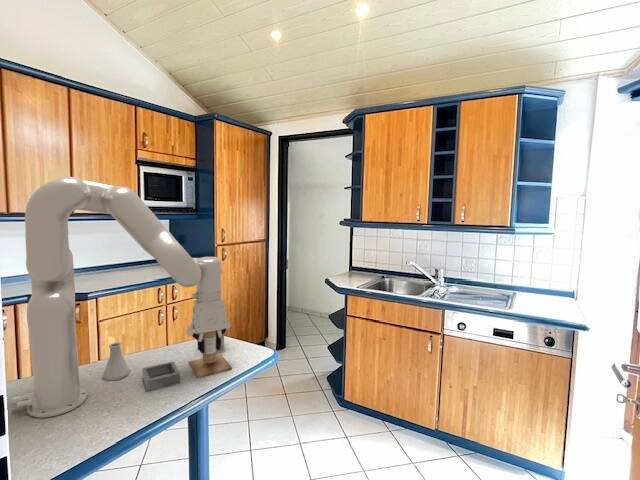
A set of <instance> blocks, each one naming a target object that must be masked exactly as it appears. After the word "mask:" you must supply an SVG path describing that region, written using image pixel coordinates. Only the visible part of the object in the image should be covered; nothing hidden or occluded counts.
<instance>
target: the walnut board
mask: <svg viewBox="0 0 640 480" xmlns="http://www.w3.org/2000/svg"><path fill="white" fill-rule="evenodd" d="M216 358H217V359H216V361H215V362H212V363H204V362H203V361H202V359H203V357H202V358H199V359H198V358H197V359H195V360H189V361H187V362H188V363H187V364H188V365H189V366H188V367H190V369H191V371H192V373H193V375H194V376H195V377H196V379H197V378H198V379H201V377H202V378H206V377H209V376H213V375H217V374H220V372H221V373H224V371H225V372H228V371H232V370H233V367H232V366H231V364H230V363H229V362H228V361H227V360H226V358H225V357H224V356H223V355H222V354H220V353H219V354H216ZM205 376H206V377H205Z"/></svg>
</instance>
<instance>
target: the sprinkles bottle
mask: <svg viewBox="0 0 640 480" xmlns="http://www.w3.org/2000/svg"><path fill="white" fill-rule="evenodd" d="M203 341H204V353H202V358H203V359H202V358H201V359H202V361H203V362H204V363H212V362H215V361H216V359H217V358H216V355H217V353H216V331H214V332H208V333H204V334H203Z"/></svg>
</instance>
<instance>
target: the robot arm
mask: <svg viewBox="0 0 640 480" xmlns="http://www.w3.org/2000/svg"><path fill="white" fill-rule="evenodd" d="M74 211H85V212H90V213H99V214H104V215H111V216H112V217H113V218H114V220H116V221H117V223H118V224H119V225H120V226H121V227H122V228H123V229H124V231H126V232H127V233H128V234H129V236H130V237H131V238H132V239H133V240H134V241H135V242H136V244H138V246H140V247H141V249H143V250H144V251H145V252H146V253H148V255H149V256H151V257H152V258H153V259H155V261H156V262H157V263H158V264H159V265H161V267H162V268H163V269H164V270H165V272H167V274H169V276H170V277H171V278H172V280H174V281H175V282H176V283H177V285H179V286H180V287H183V288H192V287H195V286H196V290H195V293H191V298H192V299H195V300H194V302H193V309H192V316H191V317H192V319H191V323H190V324H189V326H188V328H187V330H186V331H185V333H186V335H188V336H190V337H192V338H194V339H195V340H196V341H197V351H199V352H200V353H201V354H203V353H204V341H203V334H204V333H208V332H214V331H216V349H217V350H220V346H221V337H222V335H223V334H224V335H225V333H226V331H227V330H228V329H230V328H231V327H232V324H231V323H230V321H229V320H228V319H227V311H226V310H227V309H226V304H225V303H226V302H225V299H224V297H222V260H221V258H219V257H217V256H203V257H192V256H191V255H190V254H189V252H187V250H186V249H184V247H183V245H181V244H180V243H179V241H178V240H176V238H175V237H174V235H173V234H172V233H171V232H170V231H169V230H168V228H167V227H166V226H165V225H164V224H163V222H161V221H160V220H159V218H158V217H157V216H156V214H155V213H154V212H153V211H152V210H151V209H150V208H149V207H148V206H147V204H146V203H145V202H144V201H143V200H142V198H141V197H139V194H137V193H136V192H135V191H134V190H133V189H131V188H129V187H128V186H123V185H122V186H118V185H110V184H104V183H99V182H96V181H89V180H84V179H80V178H78V177H75V176H63V177H59V178H56V179H54V180H51V181H49V182H47V183H46V182H45V184H43V185H41V186H40V187H39V188H37V189H36V190H35V191H34V192H33V193H32V194H31V195H30V197H29V199H28V201H27V203H26V206H25V212H24V226H25V228H24V229H25V230H24V231H25V238H24V239H25V252H26V253H25V254H26V255H25V257H26V259H25V268H26V271H27V273H28V274H29V276H30V283H31V296H30V298H29V300H28V303H27V306H26V321H27V328H28V333H29V343H30V344H29V345H30V353H31V367H32V381H33V391H32V392H31V391H30V392H28V394H24V395H17V396H12V398H11V405H12V406H16V408H17V409H19V408H23V407H25V406H27V408H26V409H27V414H28V415H29V414H30V415H29V416H31V417H33V418H51V417H55V416H59V415H64V414H66V413H68V412H71V411H72V410H74V409H77V408H78V407H80V406H81V405H82V404H83V403H84V402H85V401H86V399H87V397H88V393H87V390H86V389H85V388H83V387H80V376H79V375H80V373H79V370H80V369H79V356H78V353H79V352H78V341H77V325H76V289H75V270H74V269H75V268H74V254H73V253H72V250H71V249H70V246H69V245H70V243H69V219H70V218H69V217H70V215H71V214H72V213H73V212H74Z"/></svg>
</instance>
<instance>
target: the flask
mask: <svg viewBox="0 0 640 480" xmlns="http://www.w3.org/2000/svg"><path fill="white" fill-rule="evenodd" d="M122 344H123V343H122V342H112V343H110V344H109V345H108V348H109V356H108V361H107V364H106V367H105V369H104V371H103V375H102V377H101V378H102V379H104V380H106V381H108V382H109V381H119V380H121V379H123V378H126V377H128V376H129V374H130V372H131V369H130V367H129V365H128V363H127V362H126V360H125V358H124V355H123V353H122V348H121V346H122Z"/></svg>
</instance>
